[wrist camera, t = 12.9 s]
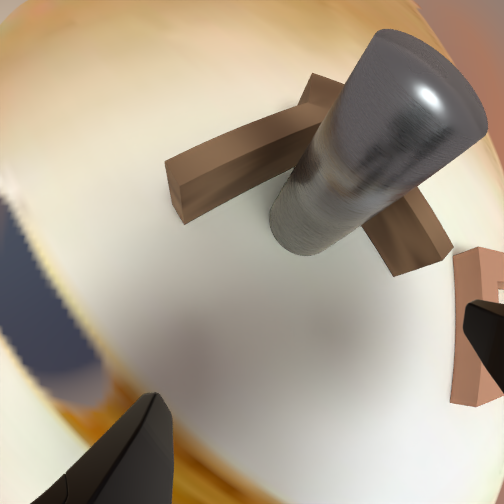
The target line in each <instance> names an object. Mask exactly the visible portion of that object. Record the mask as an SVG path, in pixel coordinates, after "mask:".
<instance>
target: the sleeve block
mask: <svg viewBox="0 0 504 504" xmlns="http://www.w3.org/2000/svg"><path fill="white" fill-rule="evenodd" d="M453 263H454V276H455V297H456V339H455V359H454V372H453V382H452V391H451V399H450V403H454V404H460V405H466V406H472V407H478V406H480V405H483V404H485V403H488V402H490V401H492V400H495V399H497V398H499V397H502V396H504V394H503V392H502V391H501V389H500V388H499V387H498V385H497V384H496V382H495V381H494V380H493V378H492V377H491V375H490V374H489V373H488V371H487V370H486V368H485V367H484V365H483V363H482V362H481V360H480V358H479V357H478V355H477V353H476V352H475V350H474V349H473V347H472V345H471V344H470V342H469V341H468V339H467V337H466V336H465V334H464V332H463V320H464V313H465V307H466V305H467V304H468V303H469V302H471V301H473V300H476V299H479V300H485V301H490V302H495V303H499V301H498V289H503V290H504V253H503V252H499V251H495V250H490V249H486V248H482V247H476V248H473V249H471V250H468V251H466V252H463V253H460V254H458V255H455V256H453Z"/></svg>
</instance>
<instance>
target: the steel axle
mask: <svg viewBox="0 0 504 504" xmlns="http://www.w3.org/2000/svg"><path fill="white" fill-rule="evenodd" d="M487 130H488V121H487V117H486V113H485V111H484V108H483V106H482V103H481V101H480V99H479V98H478V96H477V94H476V93H475V91H474V90H473V88H472V86H471V85H470V84H469V82H468V81H467V80H466V79H465V78H464V76H463V75H462V74H461V73H460V72H459V70H458V69H457V68H456V67H455V66H454V65H453V64H452V63H451V62H450V61H448V60H447V59H446V58H445V57H444V56H443V55H442V54H440V53H439V52H438V51H436V50H435V49H434V48H432V47H431V46H429V45H428V44H426V43H425V42H423V41H421V40H420V39H418V38H416V37H414V36H412V35H409V34H407V33H404V32H401V31H397V30H393V29H382V30H379V31H377V32H376V33H375V35H374V37H373V38H372V40H371V42H370V43H369V45H368V47H367V48H366V50H365V51H364V53H363V55H362V56H361V58H360V60H359V61H358V63H357V65H356V66H355V68H354V70H353V71H352V73H351V75H350V76H349V78H348V80H347V81H346V83H345V85H344V86H343V88H342V90H341V91H340V93H339V95H338V96H337V98H336V100H335V101H334V103H333V105H332V106H331V108H330V110H329V111H328V113H327V115H326V116H325V118H324V120H323V121H322V123H321V125H320V126H319V128H318V130H317V131H316V133H315V135H314V136H313V138H312V140H311V141H310V143H309V145H308V146H307V148H306V150H305V151H304V153H303V155H302V157H301V158H300V160H299V162H298V163H297V165H296V167H295V168H294V170H293V172H292V173H291V175H290V177H289V178H288V180H287V182H286V183H285V185H284V187H283V189H282V190H281V192H280V194H279V195H278V197H277V199H276V200H275V202H274V204H273V206H272V208H271V211H270V227H271V230H272V233H273V235H274V237H275V238H276V240H277V241H278V242H279V243H280V244H281V245H282V246H283V247H284V248H285V249H287V250H288V251H290V252H292V253H294V254H297V255H302V256H311V255H315V254H318V253H320V252H322V251H324V250H325V249H327V248H328V247H330V246H331V245H333V244H334V243H336V242H337V241H339V240H340V239H342V238H343V237H345V236H346V235H348V234H349V233H351V232H352V231H354V230H355V229H357V228H358V227H359V226H361V225H362V224H364V223H365V222H367V221H368V220H370V219H371V218H373V217H374V216H376V215H377V214H378V213H380V212H381V211H383V210H384V209H386V208H387V207H389V206H390V205H391V204H393V203H394V202H396V201H397V200H399V199H400V198H401V197H403V196H404V195H406V194H407V193H408V192H410V191H411V190H413V189H414V188H415V187H417V186H418V185H420V184H421V183H422V182H424V181H425V180H427V179H428V178H429V177H431V176H432V175H433V174H435V173H436V172H437V171H439V170H440V169H442V168H443V167H444V166H446V165H447V164H448V163H450V162H451V161H452V160H454V159H455V158H456V157H458V156H459V155H460V154H462V153H463V152H464V151H466V150H467V149H468V148H470V147H471V146H472V145H474V144H475V143H476V142H478V141H479V140H480V139H481V138H483V137H484V136H485V135H486V133H487Z"/></svg>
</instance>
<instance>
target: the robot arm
mask: <svg viewBox="0 0 504 504" xmlns="http://www.w3.org/2000/svg"><path fill="white" fill-rule="evenodd" d="M463 332H464V334H465V336H466V337H467V339H468V341H469V342H470V344H471V345H472V347H473V349H474V350H475V352H476V353H477V355H478V357H479V358H480V360H481V362H482V363H483V365H484V367H485V368H486V370H487V371H488V373H489V374H490V375H491V377H492V378H493V380H494V381H495V382H496V384H497V385H498V387H499V388H500V389H501V391H502V392H503V394H504V304H501V303H495V302H490V301H485V300H479V299H476V300H473V301H471V302H469V303H468V304H467V305H466V307H465V313H464V320H463ZM173 473H174V453H173V426H172V415H171V412H170V410H169V409H168V407H167V405H166V404H165V402H164V400H163V399H162V397H161V395H160V394H159V393H156V392H154V393H146V394H143V395H142V396H141V397H140V398H139V399H138V400H137V401H136V402H135V403H134V404H133V405H132V406H131V407H130V408H129V409H128V410H127V411H126V412H125V413H124V414H123V415H122V416H121V417H120V418H119V419H118V421H117V422H116V423H115V424H114V425H113V426H112V427H111V428H110V429H109V430H108V431H107V432H106V433H105V434H104V435H103V436H102V437H101V438H100V439H99V440H98V441H97V442H96V443H95V444H94V445H93V446H92V447H91V448H90V449H89V450H88V451H87V452H86V453H85V454H84V455H83V456H82V457H81V458H80V459H79V460H78V461H77V462H76V463H75V464H74V465H73V466H72V467H71V468H69V469H68V470H67V471H66V474H63V475H62V476H61V477H60V478H59V479H58V480H57V481H56V482H55V483H54V484H53V485H52V486H51V487H50V488H49V489H47V490H46V491H45V492H44V493H43V494H42V495H40V496H39V497H38V498H37V499H36V500H34V501H33V502H32V503H30V504H172V488H173Z"/></svg>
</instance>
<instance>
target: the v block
mask: <svg viewBox="0 0 504 504" xmlns="http://www.w3.org/2000/svg"><path fill="white" fill-rule="evenodd" d="M344 85H345V84H342V83H339V82H337V81H334V80H331V79H329V78H326V77H323V76H320V75H317V74H314V73H312V74H311V76H310V79H309V81H308V83H307V85H306V87H305V90H304V92H303V94H302V96H301V98H300V100H299V103H298V105H297V106H295V107H292V108H289V109H287V110H284V111H281V112H278V113H275V114H273V115H270V116H267V117H265V118H262V119H259V120H257V121H254V122H252V123H249V124H247V125H244V126H242V127H239V128H237V129H234V130H232V131H230V132H227V133H225V134H222V135H220V136H218V137H216V138H213V139H211V140H209V141H206V142H204V143H202V144H200V145H198V146H196V147H193V148H191V149H189V150H187V151H185V152H183V153H181V154H179V155H177V156H175V157H173V158H170V159H168V160H166V161H164V162H165V168H166V173H167V179H168V184H169V190H170V195H171V200H172V205H173V206H174V208H175V210H176V212H177V213H178V215H179V217H180V218H181V220H182V222H183V223H184V225H185V224H186V223H188V222H190V221H192V220H194V219H195V218H197V217H199V216H201V215H203V214H204V213H206V212H208V211H210V210H212V209H214V208H215V207H217V206H219V205H221V204H223V203H225V202H227V201H228V200H230V199H232V198H234V197H236V196H238V195H240V194H242V193H244V192H245V191H247V190H249V189H251V188H253V187H255V186H257V185H259V184H261V183H263V182H265V181H267V180H269V179H271V178H273V177H275V176H277V175H279V174H281V173H283V172H285V171H287V170H289V169H291V168H293V167H295V166H296V165H297V163H298V162H299V160H300V158H301V157H302V155H303V153H304V151H305V150H306V148H307V146H308V145H309V143H310V141H311V140H312V138H313V136H314V135H315V133H316V131H317V130H318V128H319V126H320V125H321V123H322V121H323V120H324V118H325V116H326V115H327V113H328V111H329V110H330V108H331V106H332V105H333V103H334V101H335V100H336V98H337V96H338V95H339V93H340V91H341V90H342V88H343V86H344ZM361 226H362V227H363V229H364V230H365V232H366V233H367V235H368V236H369V238H370V239H371V241H372V243H373V244H374V246H375V247H376V249H377V250H378V252H379V254H380V255H381V257H382V258H383V260H384V262H385V263H386V265H387V267H388V268H389V270H390V271H391V273H392V275H393V277H395V276H398V275H401V274H404V273H407V272H410V271H413V270H416V269H419V268H422V267H425V266H428V265H431V264H434V263H436V262H439V261H442V260H443V259H444V258H445V257H446V256H447V255H448V253H449V252H450V251H451V250H452V249H453V247H454V246H453V245H452V243H451V241H450V239H449V237H448V236H447V234H446V232H445V230H444V229H443V227H442V225H441V223H440V222H439V220H438V218H437V217H436V215H435V214H434V212H433V210H432V209H431V207H430V205H429V204H428V202H427V201H426V199H425V198H424V196H423V195H422V193H421V192H420V190H419V189H418V187H415V188H414V189H413V190H411V191H410V192H408V193H407V194H406V195H404V196H403V197H401V198H400V199H399V200H397V201H396V202H394V203H393V204H391V205H390V206H389V207H387V208H386V209H384V210H383V211H381V212H380V213H378V214H377V215H376V216H374V217H373V218H371V219H370V220H368V221H367V222H365V223H364V224H362V225H361Z"/></svg>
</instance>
